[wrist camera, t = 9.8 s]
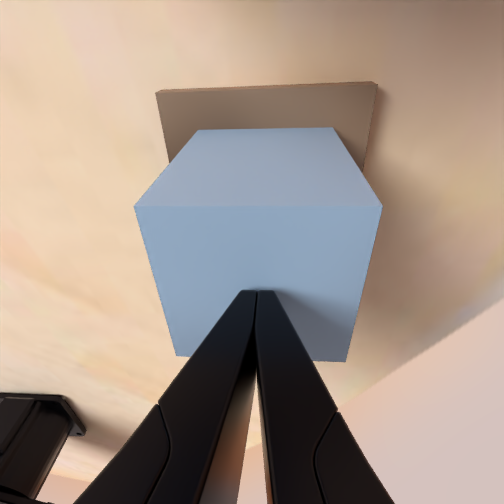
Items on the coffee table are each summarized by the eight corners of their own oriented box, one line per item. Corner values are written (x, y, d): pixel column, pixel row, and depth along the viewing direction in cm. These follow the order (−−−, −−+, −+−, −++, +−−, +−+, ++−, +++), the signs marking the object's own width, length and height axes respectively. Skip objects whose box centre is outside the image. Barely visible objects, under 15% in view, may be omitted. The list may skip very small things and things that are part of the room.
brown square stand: (343, 255, 16) (372, 350, 11) (193, 255, 16) (159, 345, 12) (371, 81, 11) (443, 114, 6) (161, 89, 12) (84, 125, 7)
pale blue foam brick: (319, 241, 14) (345, 362, 9) (212, 241, 15) (176, 356, 9) (332, 127, 11) (382, 206, 6) (197, 129, 12) (133, 206, 6)
